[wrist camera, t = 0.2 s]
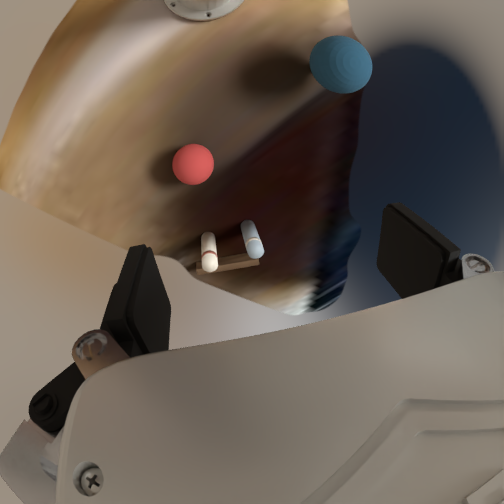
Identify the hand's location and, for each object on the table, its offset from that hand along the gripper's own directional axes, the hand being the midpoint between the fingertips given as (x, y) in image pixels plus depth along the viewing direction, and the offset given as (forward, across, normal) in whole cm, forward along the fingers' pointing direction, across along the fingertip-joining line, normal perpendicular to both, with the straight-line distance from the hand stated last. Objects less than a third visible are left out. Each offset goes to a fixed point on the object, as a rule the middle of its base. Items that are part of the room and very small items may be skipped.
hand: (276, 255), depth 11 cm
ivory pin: (+36, +5, +18) cm, 40 cm away
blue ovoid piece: (+36, -16, -9) cm, 40 cm away
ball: (+33, +5, +4) cm, 33 cm away
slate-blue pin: (+36, -2, +17) cm, 40 cm away
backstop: (+36, +2, +23) cm, 43 cm away
